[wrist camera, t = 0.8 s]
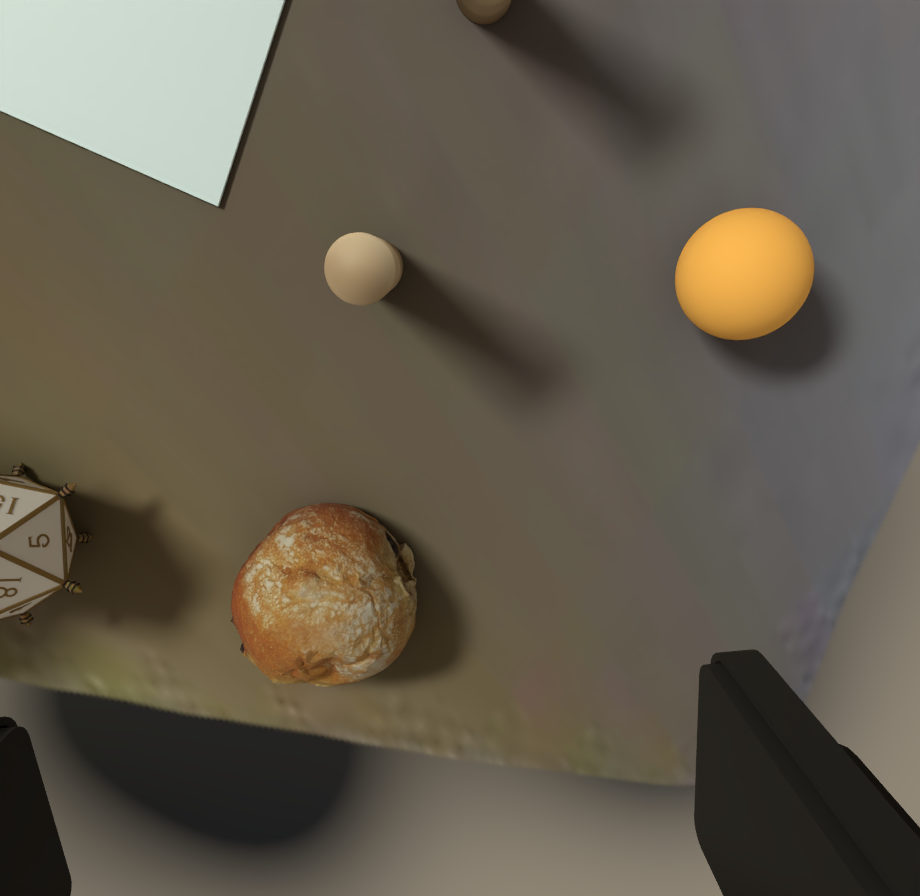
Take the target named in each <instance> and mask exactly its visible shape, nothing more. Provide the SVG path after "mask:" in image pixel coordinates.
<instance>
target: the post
mask: <svg viewBox="0 0 920 896" xmlns="http://www.w3.org/2000/svg"><path fill="white" fill-rule="evenodd" d="M324 269H325V276H326V280H327V282H328V284H329V286H330V288H331V289H332V291H333V292H334V293H335V294H336V295H337V296H338V297H339V298H341V299H342V300H344V301H346V302H348V303H350V304H354V305H368V304H372V303H375V302H377V301H379V300H380V299H382V298H383V297H384V296H385V295H386V294H387V293H388V292H389V291H390V290H392V289H393V288H394V287H395V286H396V285H397V284H398V282H399V281H400V279H401V277H402V273H403V261H402V257H401V255H400V253H399V251H398V250H397V249H396V248H395V247H394V246H393V245H392V244H391V243H389V242H387V241H385V240H382V239H380V238H378V237H375V236H373V235H370V234H367V233H360V232H358V233H350V234H347V235H344V236H342V237H341V238H339V239H338V240H337V241H336V242H334V244H333V245H332V246H331V247H330V249H329V251H328V253H327V255H326V259H325V268H324Z"/></svg>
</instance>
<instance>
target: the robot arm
mask: <svg viewBox="0 0 920 896" xmlns="http://www.w3.org/2000/svg"><path fill="white" fill-rule="evenodd" d="M694 821H695V829H696V833H697V837H698V841H699V844H700V846H701V849H702V851H703V853H704V855H705V857H706V859H707V862H708V864H709V866H710V868H711V870H712V872H713V875H714V877H715V879H716V881H717V883H718V885H719V887H720V889H721V892H722V894H723V895H724V896H920V828H919V826H917V824H916V823H915V822H914V821H913V819H912V818H911V817H910V816H909V815H908V814H907V813H906V812H905V810H904V809H903V808H902V807H901V806H900V805H899V803H898V802H897V801H896V800H895V799H894V798H893V797H892V795H891V794H890V793H889V792H888V791H887V790H886V789H885V788H884V786H883V785H882V784H881V783H880V782H879V780H878V779H877V778H876V777H875V776H874V775H873V774H872V772H871V771H870V770H869V769H868V768H867V767H866V766H865V764H863V762H862V761H861V760H860V759H859V758H858V756H856V755H855V754H854V753H853V752H852V751H851V750H850V749H849V748H848V747H845V746H843V745H841V744H838V743H837V742H836V740H835V739H834V738H833V737H832V736H831V735H830V733H829V732H828V731H827V730H826V729H825V728H824V726H823V725H822V724H821V723H820V722H819V720H818V719H817V718H816V717H815V716H814V715H813V713H812V712H811V711H810V710H809V709H808V708H807V706H806V705H805V704H804V703H803V702H802V701H801V699H800V698H799V697H798V696H797V695H796V694H795V692H794V691H793V690H792V689H791V688H790V687H789V685H788V684H787V683H786V682H785V681H784V680H783V678H782V677H781V676H780V675H779V674H778V672H777V671H776V670H775V669H774V668H773V667H772V665H771V664H770V663H769V662H768V661H767V660H766V658H765V657H764V656H763V655H762V654H761V653H760V652H759V651H757V650H742V651H731V652H720V653H715V654H714V655H713V656H712V659H711V664H707V665H703V666H701V669H700V674H699V699H698V727H697V755H696V782H695V812H694ZM71 883H72V882H71V876H70V873H69V869H68V866H67V863H66V859H65V856H64V852H63V849H62V846H61V842H60V839H59V835H58V832H57V828H56V825H55V822H54V818H53V815H52V811H51V808H50V805H49V801H48V798H47V795H46V791H45V788H44V784H43V781H42V777H41V774H40V770H39V767H38V764H37V761H36V757H35V754H34V750H33V747H32V743H31V740H30V736H29V734H28V732H27V730H26V729H25V728H23V727H18V726H17V724H16V722H15V721H14V720H13V719H12V718H9V717H0V896H70V894H71Z"/></svg>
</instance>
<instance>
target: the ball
mask: <svg viewBox="0 0 920 896" xmlns="http://www.w3.org/2000/svg"><path fill="white" fill-rule="evenodd" d="M813 277H814V259H813V253H812V250H811V247H810V245H809V242H808V240H807V238H806V237H805V235H804V233H803V232H802V231H801V230H800V228H799V227H798V226H797V225H796V224H794V223H793V222H792V221H791V220H789V219H788V218H786V217H785V216H783V215H781V214H779V213H776V212H774V211H770V210H766V209H761V208H742V209H736V210H732V211H729V212H726V213H723V214H721V215H719V216H716V217H714V218H713V219H711V220H710V221H708V222H707V223H705V224H704V225H703V226H702V227H700V228H699V229H698V230H697V231H696V232H695V233H694V234H693V235H692V236H691V238H690V239H689V240H688V242H687V243H686V245H685V247H684V249H683V250H682V252H681V255H680V257H679V260H678V263H677V267H676V273H675V287H676V293H677V298H678V300H679V303H680V306H681V308H682V309H683V311H684V313H685V314H686V316H687V317H688V318H689V319H690V320H691V321H692V322H693V323H694V324H695V325H696V326H697V327H698V328H700V329H701V330H703V331H705V332H706V333H708V334H711V335H713V336H716V337H719V338H723V339H729V340H747V339H752V338H757V337H760V336H763V335H766V334H768V333H770V332H772V331H774V330H776V329H778V328H780V327H781V326H783V325H784V324H785V323H786V322H788V321H789V320H790V319H791V318H792V317H793V316H794V315H795V314H796V313H797V311H798V310H799V309H800V308H801V306H802V305H803V303H804V302H805V300H806V298H807V296H808V294H809V292H810V289H811V286H812V282H813Z"/></svg>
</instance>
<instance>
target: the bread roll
mask: <svg viewBox="0 0 920 896" xmlns="http://www.w3.org/2000/svg"><path fill="white" fill-rule="evenodd" d="M414 567H415V562H414V557H413V553H412V551H411V549H410V548H409V547H408V546H407V544H406V543H403V544H401V545H400V544H399V543H397V541H396V540H395V538H394V537H393V536H392V535H391V534H390V533H389V532H388V531H387V530H386V528H385V527H384V526H383V525H381V524H379V522H378V521H377V519H376V518H374V517H372V516H370V515H368V514H366V513H364V512H363V511H361V510H360V509H358V508H355V507H353V506H350V505H345V504H335V503H318V504H313V505H309V506H306V507H302V508H299V509H295V510H294V511H292V512H290V513H288V514H287V515H285V516H284V517H283V518H282V519H281V521H280V522H278V523H276V525H275V526H274V527H273V529H272V530H271V532H270V533H269V534H268V535H267V536H266V538H265V539H264V540H263V541H262V542H261V543H260V544H259V545H257V546H256V548H255V550H254V551H253V552H252V553H251V555H250V556H249V557H248V559H247V561H246V562H245V563H244V565H243V566H242V567H241V570H240V572H239V573H238V575H237V578H236V580H235V583H234V587H233V591H232V603H231V609H232V615H233V619H232V620H231V621H232V622H233V623H234V625H235V626H236V629H237V630H238V632H239V634H240V637H241V640H242V642H243V644H242V645H241V648H240V650H241V652H242V654H243V655H244V656H245V657H247V658H248V659H249V660H250V661H251V662H253V663H254V664H255V665H256V666H257V667H258V668H259V669H260V670H261V671H262V672H263V673H264V674H265V675H267V676H268V677H269V678H270V679H271V680H272V682H273V683H276V684H280V683H284V684H292V683H300V684H305V683H306V682H307V683H309V684H315V685H316V686H321V687H332V686H336V685H343V684H348V683H353V682H358V681H361V680H364V679H366V678H369V677H371V676H373V675H375V674H377V673H379V672H380V671H382V670H384V669H386V668H387V667H388V666H389V665H390V664H391V663H392V662H393V661H394V660H396V659H397V657H398V656H399V655H400V654H401V652H402V650H403V649H404V647H405V645H406V643H407V642H408V640H409V638H410V636H411V634H412V632H413V629H414V627H415V616H416V608H417V593H416V581H417V579H416V578H415V577H413V570H414Z"/></svg>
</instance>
